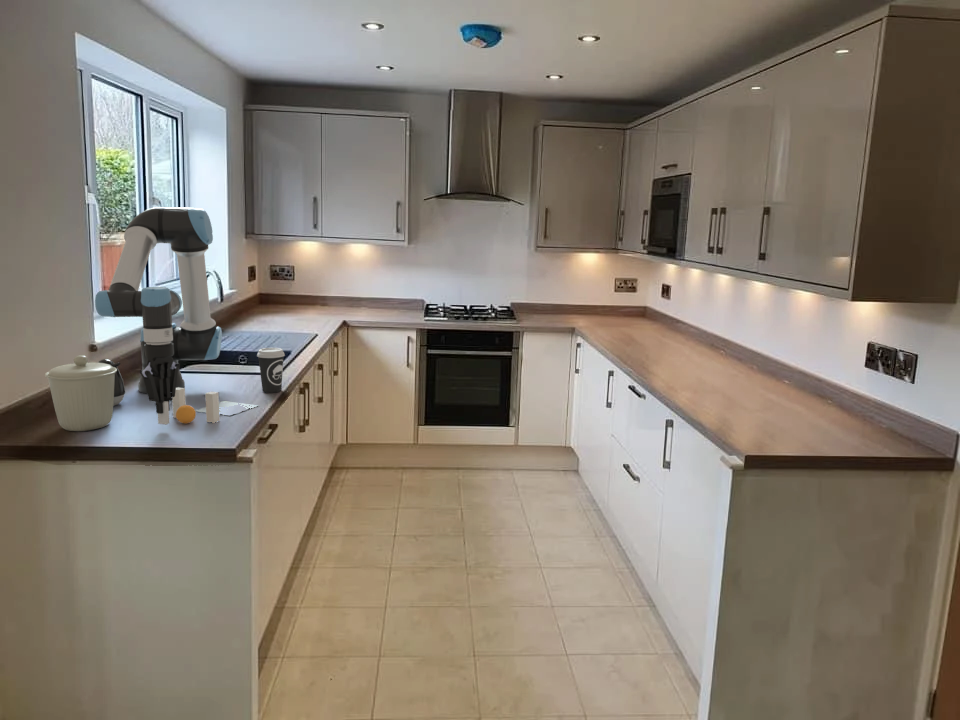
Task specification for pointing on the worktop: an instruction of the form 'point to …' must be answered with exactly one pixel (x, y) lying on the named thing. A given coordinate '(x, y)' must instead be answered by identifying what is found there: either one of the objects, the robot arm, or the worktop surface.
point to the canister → (82, 394)
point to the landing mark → (227, 404)
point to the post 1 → (178, 400)
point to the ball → (185, 414)
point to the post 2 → (212, 407)
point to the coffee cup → (271, 369)
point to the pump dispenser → (116, 382)
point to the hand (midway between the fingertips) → (163, 423)
